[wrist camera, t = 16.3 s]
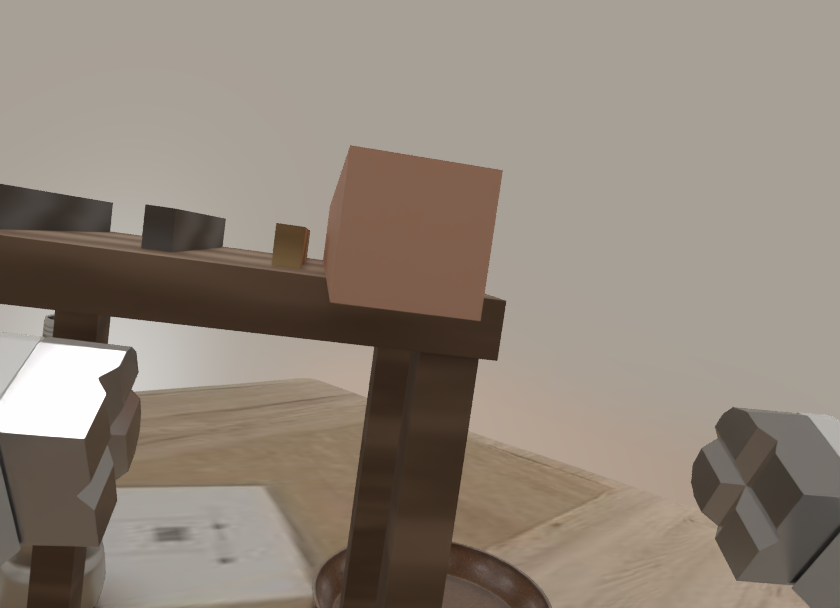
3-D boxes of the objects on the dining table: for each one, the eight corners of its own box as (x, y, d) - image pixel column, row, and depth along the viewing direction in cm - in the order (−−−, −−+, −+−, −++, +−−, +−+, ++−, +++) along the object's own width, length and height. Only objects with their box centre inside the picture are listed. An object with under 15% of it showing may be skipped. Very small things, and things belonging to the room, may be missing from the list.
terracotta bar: (480, 321, 13) (502, 170, 13) (330, 302, 13) (350, 145, 12) (376, 267, 37) (384, 213, 36) (323, 260, 36) (330, 205, 36)
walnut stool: (398, 1016, 24) (512, 255, 21) (-201, 1047, 20) (-138, 162, 18) (367, 704, 39) (431, 248, 37) (26, 695, 36) (74, 197, 34)
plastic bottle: (109, 588, 47) (137, 316, 46) (91, 646, 41) (124, 331, 39) (7, 591, 45) (33, 306, 44) (-27, 651, 39) (2, 321, 37)
